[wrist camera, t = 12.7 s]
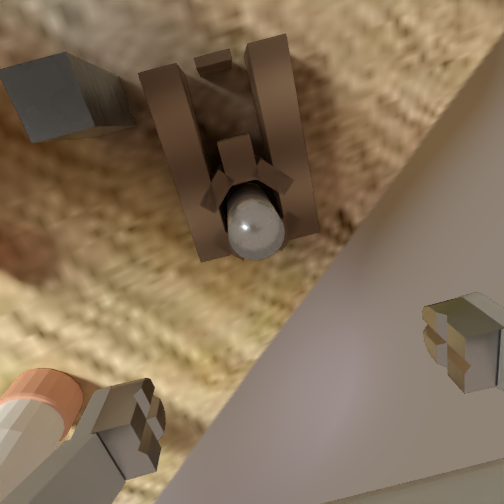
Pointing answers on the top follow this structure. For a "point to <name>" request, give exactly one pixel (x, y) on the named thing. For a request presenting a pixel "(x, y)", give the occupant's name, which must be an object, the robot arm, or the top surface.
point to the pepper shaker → (34, 422)
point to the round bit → (253, 222)
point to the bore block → (235, 146)
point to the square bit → (66, 99)
